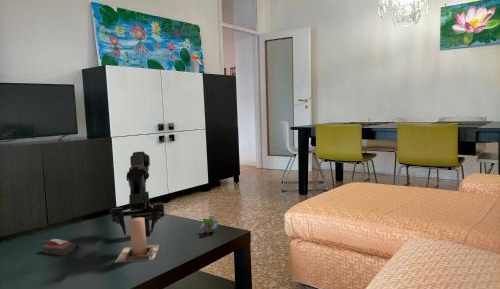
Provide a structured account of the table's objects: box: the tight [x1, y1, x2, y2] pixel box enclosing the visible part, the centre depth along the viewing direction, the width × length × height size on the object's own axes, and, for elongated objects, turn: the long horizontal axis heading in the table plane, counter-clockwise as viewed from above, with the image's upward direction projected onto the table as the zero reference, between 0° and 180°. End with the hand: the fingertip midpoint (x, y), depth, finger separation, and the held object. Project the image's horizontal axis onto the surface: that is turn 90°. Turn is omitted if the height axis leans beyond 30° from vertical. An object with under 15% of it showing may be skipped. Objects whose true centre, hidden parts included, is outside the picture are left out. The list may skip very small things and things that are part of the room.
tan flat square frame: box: [114, 244, 161, 263], centre depth 133 cm, size 15×13×1 cm
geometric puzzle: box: [199, 215, 219, 235], centre depth 155 cm, size 7×7×8 cm
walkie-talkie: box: [41, 238, 80, 256], centre depth 145 cm, size 9×4×20 cm
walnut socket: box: [125, 247, 153, 261], centre depth 131 cm, size 8×8×2 cm
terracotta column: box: [129, 217, 147, 256], centre depth 130 cm, size 5×5×13 cm
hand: (138, 233), depth 133 cm, fingers open, 9 cm apart
